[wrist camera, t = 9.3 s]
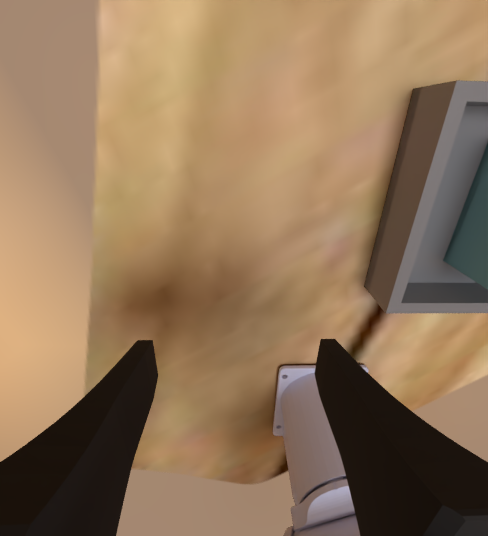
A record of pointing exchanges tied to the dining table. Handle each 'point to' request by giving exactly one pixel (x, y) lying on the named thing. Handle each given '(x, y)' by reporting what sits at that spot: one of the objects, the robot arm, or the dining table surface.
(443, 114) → the gray tray
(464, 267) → the teal crate
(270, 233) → the dining table surface
